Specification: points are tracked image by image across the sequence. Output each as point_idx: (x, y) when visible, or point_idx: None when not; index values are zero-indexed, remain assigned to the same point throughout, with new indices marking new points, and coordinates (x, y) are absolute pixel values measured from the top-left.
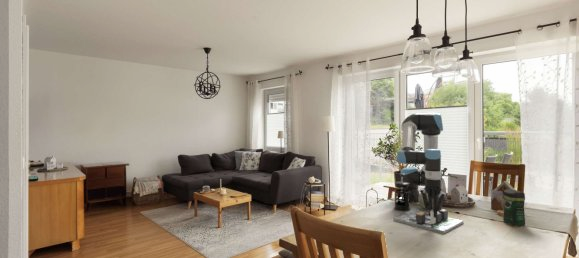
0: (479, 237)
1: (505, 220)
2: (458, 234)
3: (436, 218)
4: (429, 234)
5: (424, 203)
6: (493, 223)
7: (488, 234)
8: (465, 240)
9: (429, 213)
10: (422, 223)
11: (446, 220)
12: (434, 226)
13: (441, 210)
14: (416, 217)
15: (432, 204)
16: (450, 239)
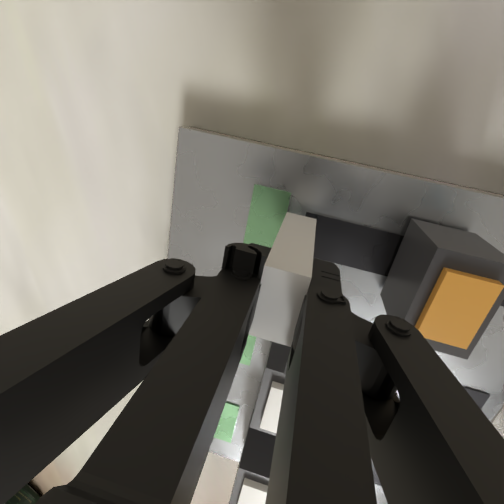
0: (8, 213)
1: (20, 496)
2: (111, 192)
3: (283, 345)
4: (290, 18)
5: (462, 399)
6: (61, 465)
7: (5, 296)
8: (31, 81)
9: (330, 278)
10: (400, 234)
11: (237, 402)
12: (278, 206)
13: (265, 492)
14: (494, 249)
15: (280, 411)
16: (109, 15)
